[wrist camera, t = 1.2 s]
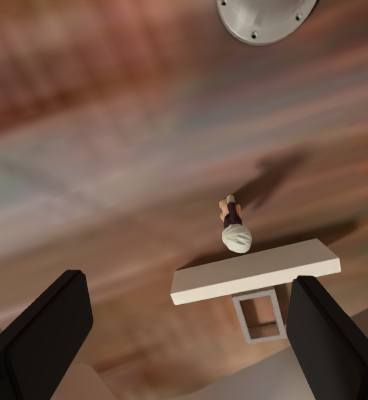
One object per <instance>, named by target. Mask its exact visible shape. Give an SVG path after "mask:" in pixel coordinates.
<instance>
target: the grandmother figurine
mask: <svg viewBox="0 0 368 400" xmlns="http://www.w3.org/2000/svg"><path fill="white" fill-rule="evenodd" d="M219 206H220V208H222V211H223V212H222V213H221V214H220V218H221V219H222V220H223V223H224V229H225V230H224V231H223V233H222V240H223V242H224V243H225V244H226V245H227V247H228V248H229V249H230V250H232V251H235V252H238V253H245V252H247V251H248V250H249V249H250V246H251V241H252V236H251V233H250V232H249V231H248V230H247V228H246V227H245V226H242V220H241V208H240V205H239V204H237V205H236V202H235V200H234V196H233V195H228V196H227V198H226V199H223V200H221V201H220V202H219Z"/></svg>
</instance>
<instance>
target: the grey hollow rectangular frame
mask: <svg viewBox="0 0 368 400" xmlns="http://www.w3.org/2000/svg"><path fill="white" fill-rule="evenodd" d="M231 295H232V299H233V302H234V305H235V309H236V312H237V315H238V318H239V321H240V324H241V327H242V330H243V333H244V337H245V340H246V343H247V344H252V343H258V342H264V341H271V340H277V339H283V338H287V337H286V333H285V329H284V325H283V321H282V317H281V313H280V309H279V305H278V301H277V297H276V293H275V289H274V287H273V286H268V287H263V288H258V289H253V290H248V291H243V292H238V293H233V294H231ZM267 295H269V299H270V303H271V307H272V311H273V314H274V318H275V322H276V324H270V325H264V326H258V327H252V328H248V326H247V323H246V320H245V316H244V313H243V310H242V307H241V304H240V301H241V300H246V299H251V298H257V297H262V296H267Z"/></svg>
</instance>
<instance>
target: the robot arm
mask: <svg viewBox="0 0 368 400" xmlns="http://www.w3.org/2000/svg"><path fill="white" fill-rule="evenodd" d="M316 1H317V0H216V3H217V8H218V12H219V15H220V17H221V20H222V22H223V23H224V25H225V27H226V28H227V30H228V31H229V32H230V33H231V34H232V35H233V36H234V37H235V38H237V39H238V40H240V41H242V42H244V43H247V44H249V45H256V46H262V45H269V44H273V43H276V42H278V41H280V40H282V39H284V38H286V37H287V36H289V35H290V34H291V33H293V32H294V31H295V30H296V29H297V28H298V27H299V26H300V25H301V24H302V22H303V21H304V20H305V19H306V18H307V16H308V15H309V13H310V12H311V10H312V8H313V7H314V5H315V3H316ZM222 4H225V6H223V5H222ZM296 18H297V19H298V21H297V20H296ZM252 36H255V39H253V38H252ZM92 325H93V315H92V309H91V304H90V298H89V293H88V287H87V282H86V276H85V274H84V273H82V271H81V270H66V271H65V272H64V273H63V274H62V275H61V276H60V277H59V278H58V279H57V280H56V281H55V282H54V283H52V284H51V285H50V286H49V287H48V288H47V289H46V290H45V291H44V292H43V293H42V294H41V295H40V296H39V297H38V298H37V299H36V300H35V301H34V302H33V303H32V304H31V305H30V306H29V307H28V308H26V309H25V310H24V311H23V312H22V313H21V314H20V315H19V316H18V317H17V318H16V319H15V320H14V321H13V322H12V323H11V324H10V325H9V326H8V327H7V328H6V329H5V330H4V331H3V332H2V333H1V334H0V400H50V399H51V397H52V395H53V394H54V392H55V390H56V388H57V387H58V385H59V383H60V382H61V380H62V378H63V376H64V375H65V373H66V371H67V369H68V368H69V366H70V364H71V363H72V361H73V359H74V358H75V356H76V354H77V352H78V351H79V349H80V347H81V345H82V344H83V342H84V340H85V339H86V337H87V335H88V333H89V332H90V330H91V328H92ZM286 332H287V336H288V339H289V341H290V344H291V346H292V348H293V350H294V352H295V355H296V357H297V359H298V361H299V364H300V366H301V368H302V370H303V373H304V374H305V377H306V379H307V381H308V384H309V386H310V388H311V390H312V393H313V394H314V397H315V399H316V400H368V339H367V337H366V336H365V335H364V334H363V333H362V331H361V330H360V329H359V328H358V327H357V325H356V324H355V323H354V322H353V321H352V320H351V318H350V317H349V316H348V315H347V314H346V313H345V312H344V311H343V310H342V308H341V307H340V306H339V305H338V304H337V302H336V301H335V300H334V299H333V298H332V297H331V295H330V294H329V293H328V292H327V291H326V289H325V288H324V287H323V286H322V285H321V284H320V282H319V281H318V280H317V279H316V278H315V277H314V276H311V275H298V276H297V279H293V282H292V289H291V297H290V304H289V311H288V318H287V326H286Z"/></svg>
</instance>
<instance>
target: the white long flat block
mask: <svg viewBox="0 0 368 400" xmlns="http://www.w3.org/2000/svg"><path fill="white" fill-rule="evenodd" d="M337 272H341V269H340V262H339V258H338V257H337V256H336V255H335V254H334V253H333V252H332V251H331V250H329V249H328V248H327V247H326V246H325V245H324V244H323V243H322V242H321V241H319V240H318V239H317V238H316V239H311V240H307V241H303V242H299V243H294V244H290V245H286V246H281V247H277V248H273V249H268V250H264V251H260V252H255V253H251V254H247V255H242V256H238V257H234V258H230V259H225V260H221V261H217V262H212V263H208V264H204V265H199V266H195V267H191V268H186V269H182V270H178V271H175V273H174V278H173V283H172V288H171V293H170V294H171V297H172V299H173V301H174V304H175V305H179V304H183V303H188V302H193V301H198V300H203V299H208V298H213V297H218V296H223V295H228V294H233V293H238V292H243V291H248V290H253V289H258V288H263V287H268V286H273V285H278V284H283V283H288V282H293V279H297V276H298V275H311V276H314V277H317V276H322V275H327V274H332V273H337Z"/></svg>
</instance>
